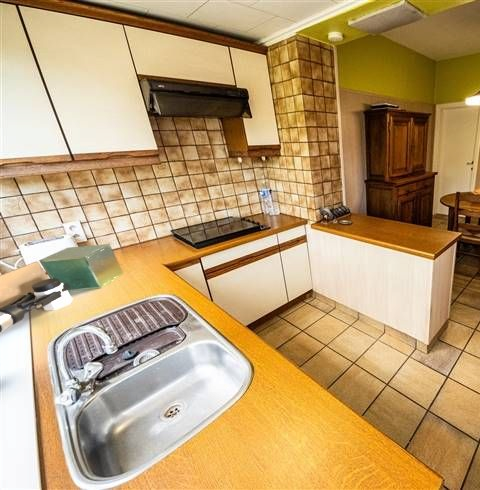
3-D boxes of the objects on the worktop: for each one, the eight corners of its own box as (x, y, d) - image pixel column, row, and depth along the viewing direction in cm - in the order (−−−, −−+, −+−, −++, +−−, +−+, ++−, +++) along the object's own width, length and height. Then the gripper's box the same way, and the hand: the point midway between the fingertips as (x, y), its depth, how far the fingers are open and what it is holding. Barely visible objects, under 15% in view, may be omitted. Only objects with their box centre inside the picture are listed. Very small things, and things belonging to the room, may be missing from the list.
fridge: (102, 288, 133) (85, 256, 126) (58, 292, 131) (38, 260, 124) (123, 273, 147) (109, 243, 139) (84, 277, 145) (67, 247, 138)
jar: (78, 299, 125) (65, 277, 120) (60, 309, 117) (45, 286, 112) (58, 300, 125) (44, 278, 120) (39, 311, 117) (24, 288, 112)
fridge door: (-9, 320, 112) (-37, 284, 105) (45, 293, 131) (25, 261, 124) (4, 320, 112) (-22, 284, 105) (58, 293, 130) (38, 261, 123)
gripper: (-21, 329, 102) (39, 295, 123) (36, 323, 104) (86, 291, 125) (-34, 313, 99) (30, 281, 120) (25, 307, 101) (78, 277, 122)
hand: (58, 286), depth 122 cm, fingers closed on jar, 7 cm apart
